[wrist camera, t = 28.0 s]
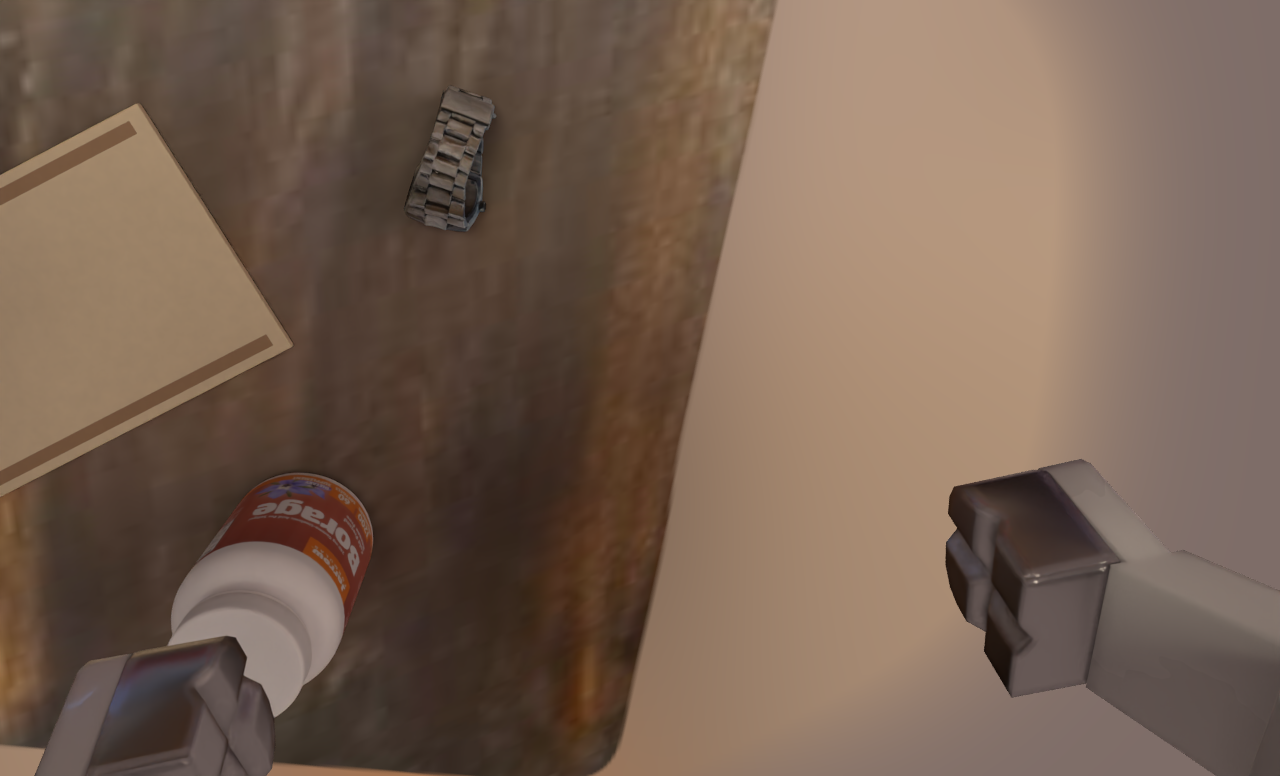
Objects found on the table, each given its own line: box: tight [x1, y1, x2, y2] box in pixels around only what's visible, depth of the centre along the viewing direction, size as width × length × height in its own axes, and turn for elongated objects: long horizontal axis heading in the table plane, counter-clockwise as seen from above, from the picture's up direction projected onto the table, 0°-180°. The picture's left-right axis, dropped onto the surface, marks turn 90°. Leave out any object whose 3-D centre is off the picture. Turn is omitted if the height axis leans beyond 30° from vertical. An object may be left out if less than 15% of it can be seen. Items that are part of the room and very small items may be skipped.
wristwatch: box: [404, 86, 497, 232], centre depth 38 cm, size 3×5×5 cm
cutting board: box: [0, 103, 293, 497], centre depth 40 cm, size 20×11×1 cm, turn 116°
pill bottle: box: [168, 473, 373, 717], centre depth 39 cm, size 6×6×11 cm
